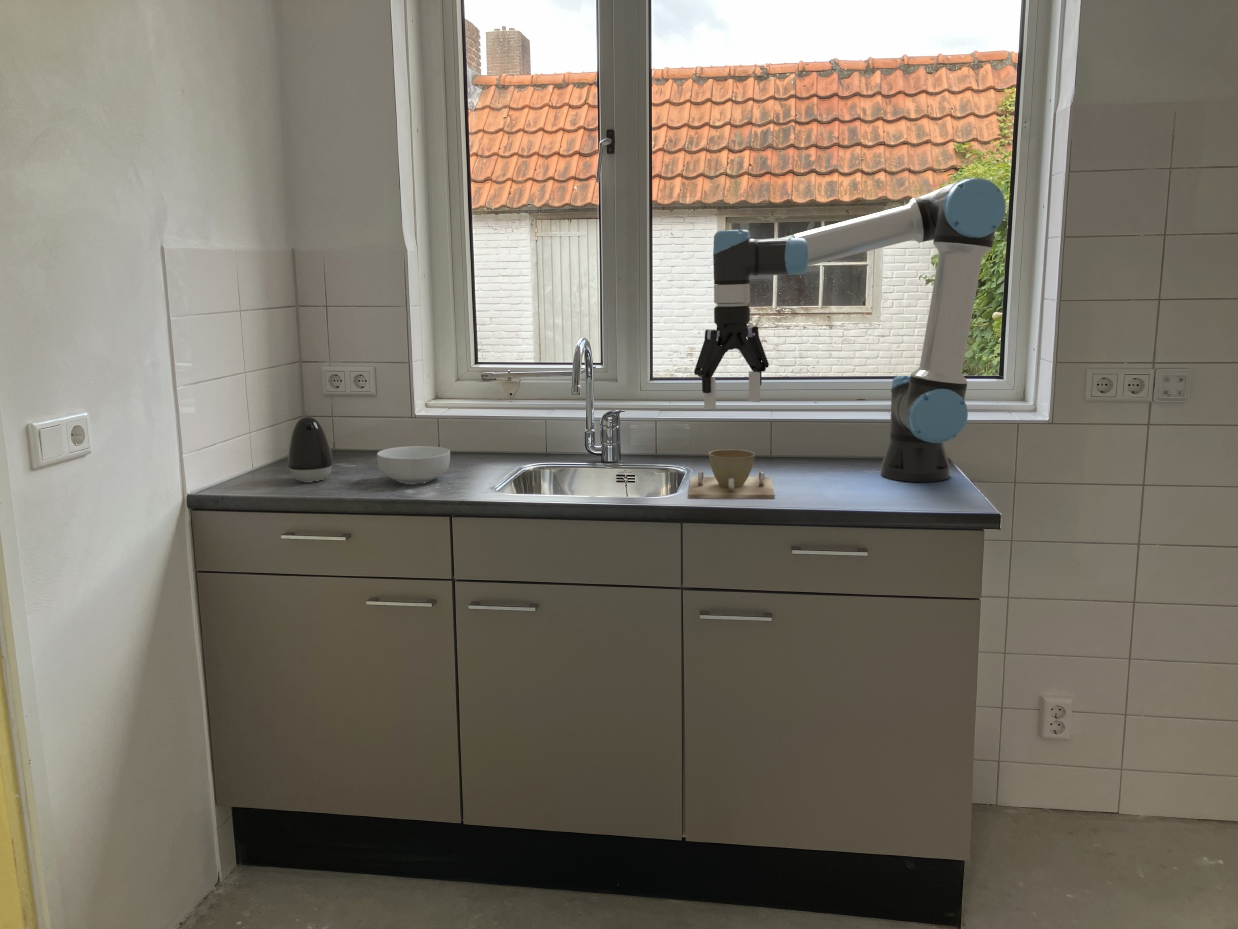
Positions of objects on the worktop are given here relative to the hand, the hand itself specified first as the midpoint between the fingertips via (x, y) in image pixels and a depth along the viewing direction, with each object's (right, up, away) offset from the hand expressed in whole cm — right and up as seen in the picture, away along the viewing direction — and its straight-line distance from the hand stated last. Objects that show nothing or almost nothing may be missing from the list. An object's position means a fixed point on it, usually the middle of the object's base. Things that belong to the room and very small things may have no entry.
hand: (732, 404), depth 216 cm
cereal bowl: (-72, -17, +18) cm, 76 cm away
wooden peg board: (0, -18, +4) cm, 19 cm away
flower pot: (0, -18, +3) cm, 18 cm away
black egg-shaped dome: (-97, -17, +20) cm, 100 cm away
